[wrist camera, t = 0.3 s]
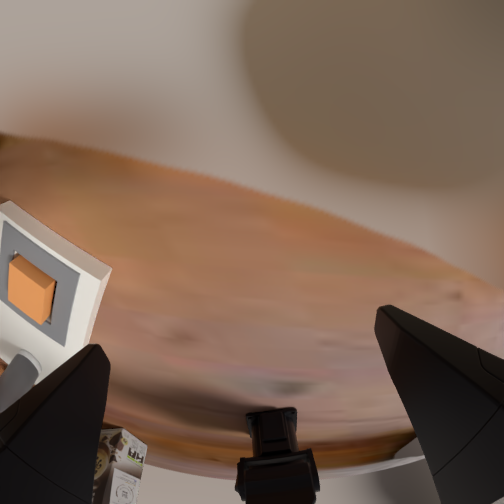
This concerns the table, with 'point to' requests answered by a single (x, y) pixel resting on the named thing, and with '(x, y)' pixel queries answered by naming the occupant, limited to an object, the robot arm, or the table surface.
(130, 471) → the coffee box
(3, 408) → the grey cylinder
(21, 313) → the panel
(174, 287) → the table surface
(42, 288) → the button
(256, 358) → the table surface
